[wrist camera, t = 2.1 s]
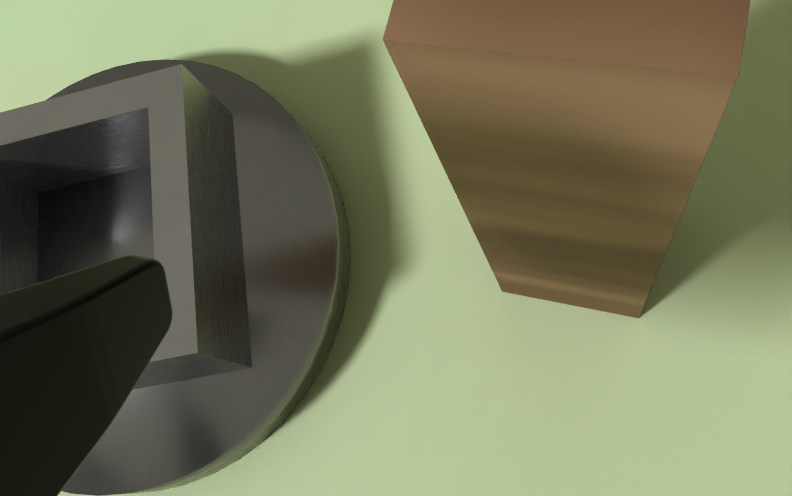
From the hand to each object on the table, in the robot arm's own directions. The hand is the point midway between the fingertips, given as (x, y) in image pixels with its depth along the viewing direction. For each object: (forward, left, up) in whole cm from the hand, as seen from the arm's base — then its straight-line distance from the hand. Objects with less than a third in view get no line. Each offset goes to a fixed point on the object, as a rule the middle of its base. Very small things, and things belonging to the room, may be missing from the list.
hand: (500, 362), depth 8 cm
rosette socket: (-7, +10, -11) cm, 17 cm away
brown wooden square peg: (+4, +3, -11) cm, 12 cm away
